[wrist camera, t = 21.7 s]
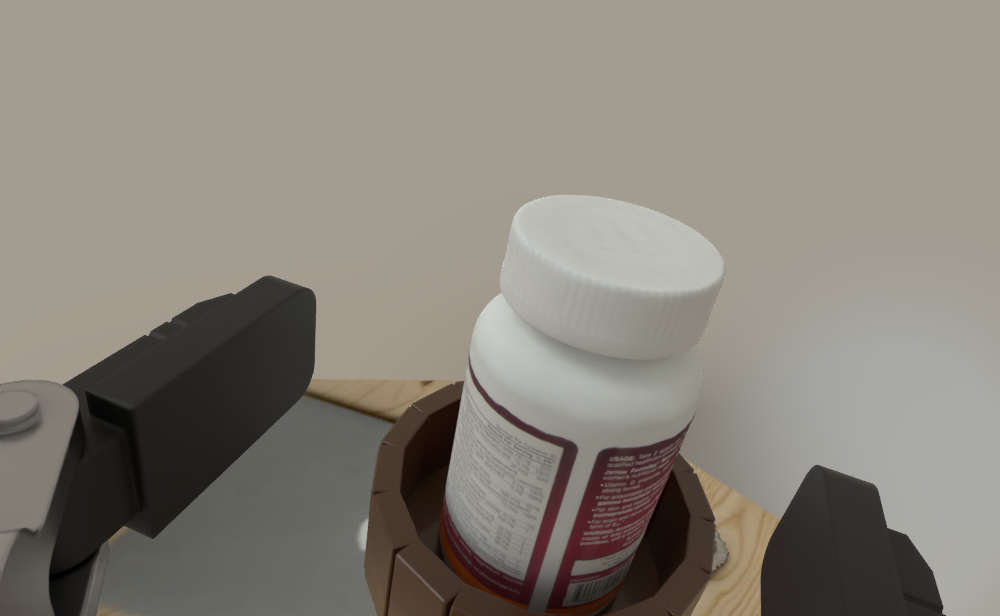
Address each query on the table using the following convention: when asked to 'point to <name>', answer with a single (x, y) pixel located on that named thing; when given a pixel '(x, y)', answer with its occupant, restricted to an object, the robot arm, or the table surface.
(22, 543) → the robot arm
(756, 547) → the table surface
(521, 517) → the pill bottle
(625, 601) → the ring collar
